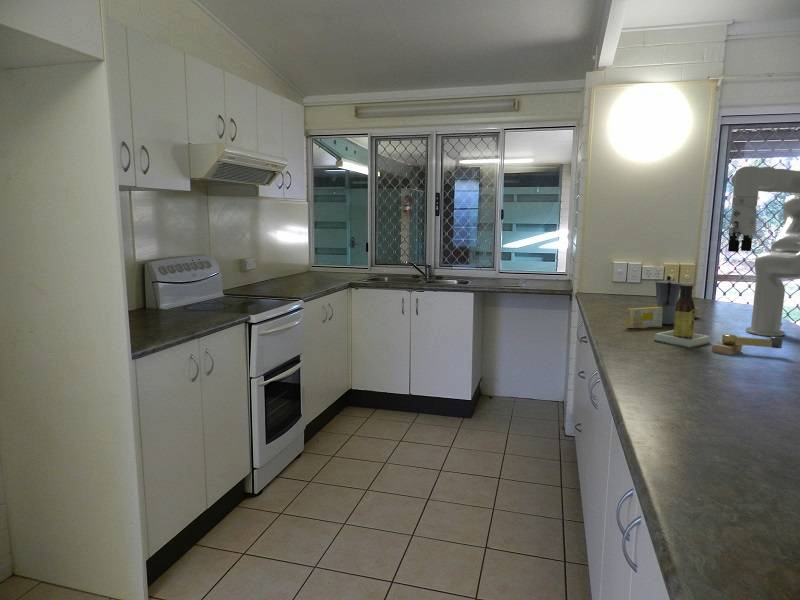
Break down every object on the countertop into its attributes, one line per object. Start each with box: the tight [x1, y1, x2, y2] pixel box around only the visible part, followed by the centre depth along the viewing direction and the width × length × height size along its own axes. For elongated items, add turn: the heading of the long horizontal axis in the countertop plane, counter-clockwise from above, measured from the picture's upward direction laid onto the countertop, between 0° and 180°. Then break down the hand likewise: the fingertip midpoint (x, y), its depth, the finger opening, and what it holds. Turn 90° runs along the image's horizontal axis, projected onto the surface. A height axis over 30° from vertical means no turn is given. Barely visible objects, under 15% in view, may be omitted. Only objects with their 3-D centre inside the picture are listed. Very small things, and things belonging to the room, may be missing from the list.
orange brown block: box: [711, 341, 743, 356], centre depth 179 cm, size 8×6×3 cm
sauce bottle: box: [673, 284, 695, 340], centre depth 192 cm, size 6×6×20 cm
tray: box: [653, 329, 711, 348], centre depth 193 cm, size 13×13×2 cm
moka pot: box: [655, 275, 682, 325], centre depth 226 cm, size 10×15×20 cm, turn 161°
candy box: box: [626, 306, 663, 329], centre depth 218 cm, size 16×2×8 cm, turn 108°
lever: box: [721, 333, 784, 349], centre depth 177 cm, size 17×4×3 cm, turn 66°
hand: (739, 251), depth 193 cm, fingers open, 9 cm apart
